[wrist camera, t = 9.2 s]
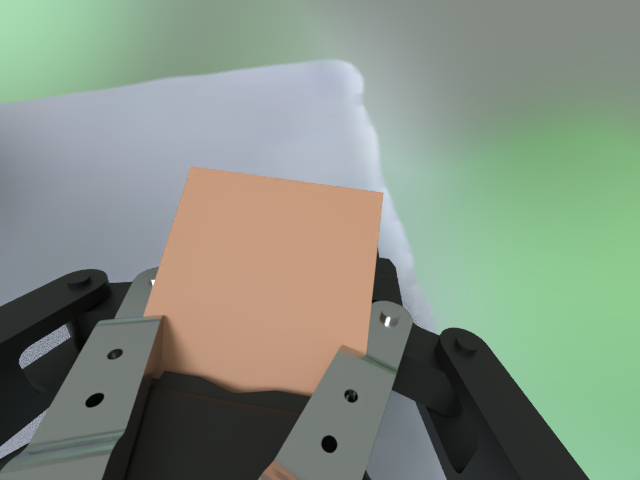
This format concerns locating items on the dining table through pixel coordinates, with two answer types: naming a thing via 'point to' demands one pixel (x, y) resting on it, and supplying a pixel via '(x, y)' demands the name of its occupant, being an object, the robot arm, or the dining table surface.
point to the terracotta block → (265, 280)
